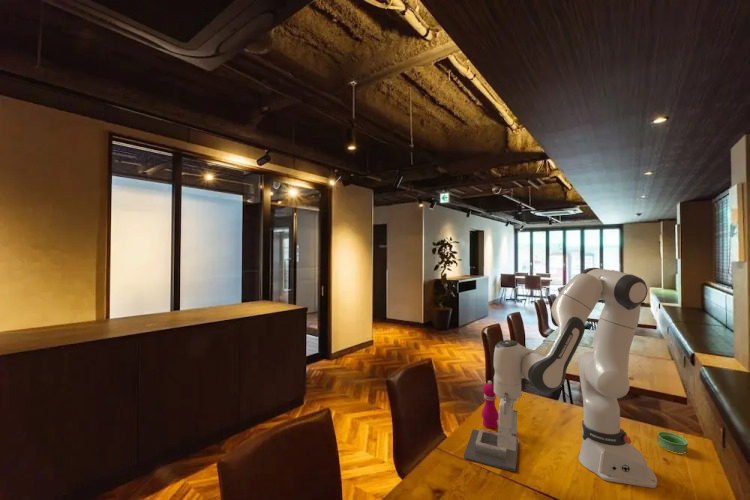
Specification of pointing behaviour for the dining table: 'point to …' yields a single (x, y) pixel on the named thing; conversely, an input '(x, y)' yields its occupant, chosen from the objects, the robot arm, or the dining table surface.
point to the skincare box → (508, 439)
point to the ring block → (490, 451)
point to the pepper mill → (489, 407)
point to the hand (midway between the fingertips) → (507, 428)
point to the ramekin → (672, 442)
